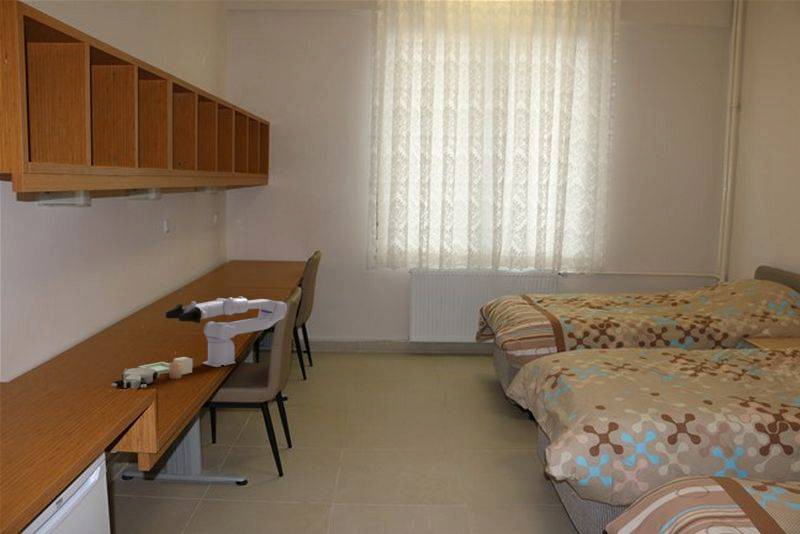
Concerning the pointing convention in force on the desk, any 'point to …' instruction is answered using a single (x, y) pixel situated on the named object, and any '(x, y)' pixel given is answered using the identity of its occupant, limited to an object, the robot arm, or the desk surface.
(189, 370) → the cream block
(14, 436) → the desk surface
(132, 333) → the desk surface
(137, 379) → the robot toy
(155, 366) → the tray
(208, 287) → the desk surface
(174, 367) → the pink rounded capsule
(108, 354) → the desk surface
